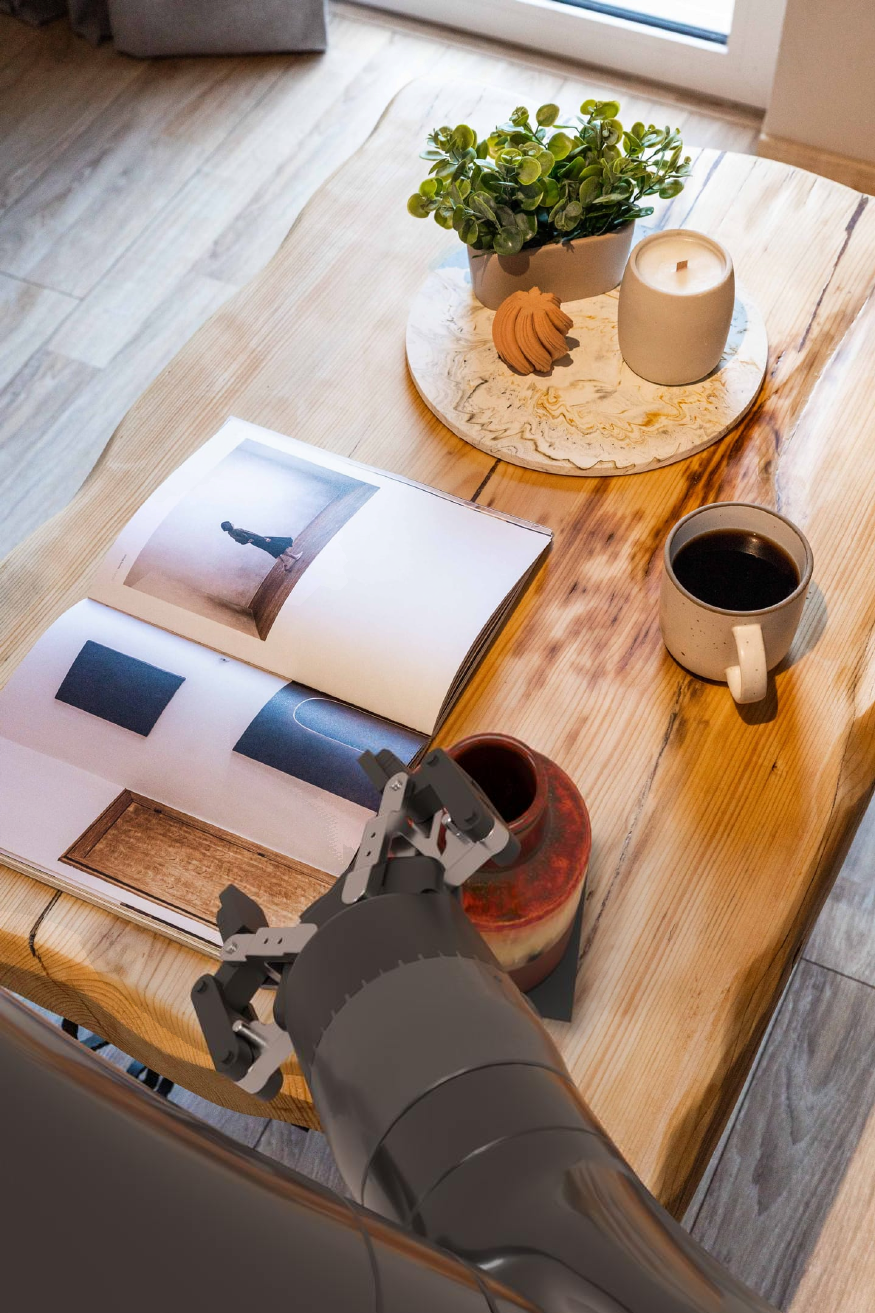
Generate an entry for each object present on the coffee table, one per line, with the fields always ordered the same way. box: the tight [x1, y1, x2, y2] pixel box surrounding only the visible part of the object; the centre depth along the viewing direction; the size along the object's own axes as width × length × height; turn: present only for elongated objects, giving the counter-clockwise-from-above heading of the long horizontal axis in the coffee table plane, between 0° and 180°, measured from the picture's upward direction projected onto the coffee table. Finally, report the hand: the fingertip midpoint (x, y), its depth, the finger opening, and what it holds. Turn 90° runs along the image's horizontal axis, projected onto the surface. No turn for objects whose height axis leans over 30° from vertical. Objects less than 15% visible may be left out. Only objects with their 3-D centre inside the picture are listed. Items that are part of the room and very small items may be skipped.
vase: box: [388, 732, 593, 994], centre depth 61 cm, size 11×11×20 cm
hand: (307, 832), depth 50 cm, fingers open, 8 cm apart
